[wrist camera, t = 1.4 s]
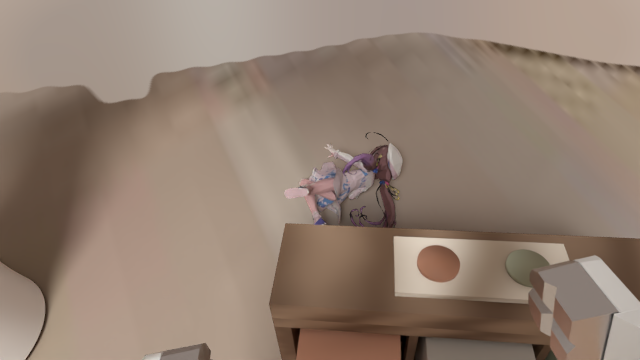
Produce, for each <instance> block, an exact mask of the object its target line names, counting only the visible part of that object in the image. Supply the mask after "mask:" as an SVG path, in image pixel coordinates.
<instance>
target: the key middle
mask: <svg viewBox="0 0 640 360" xmlns="http://www.w3.org/2000/svg"><path fill="white" fill-rule="evenodd" d="M415 360H536V359H535V355H534V351H533V347H532V344H525V343H510V342H496V341H481V340H466V339H451V338H437V337H422V336H419V337H418V342H417V347H416V352H415Z"/></svg>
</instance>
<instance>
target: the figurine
mask: <svg viewBox="0 0 640 360" xmlns="http://www.w3.org/2000/svg"><path fill="white" fill-rule="evenodd" d="M369 133H370V132H369ZM374 133H375V132H374ZM367 134H368V133H367ZM367 134H366V135H367ZM377 134H379V133H377ZM379 135H381V134H379ZM381 136H382V135H381ZM365 137H366V136H365ZM383 137H384V136H383ZM366 138H367V137H366ZM384 138H385V137H384ZM367 139H368V138H367ZM385 139H386V138H385ZM386 140H387V139H386ZM387 141H388V140H387ZM331 145H332V144H330V146H331ZM327 146H328V147H329V148H327V147H324V148H325V149H328V150H329V151H330V152H331V155H330V156H328V158H329V157H332V156H334V158H335V159H337V158H339V159H341V160H343V161H345V162H347V165H346V166H345V168H344V170H343V173H342V171H341V170H340V169H339V168H336V166H335V164H334V163H333V162H328V163H323V166H322V169H321V171H318V170H317V169H316V168H315V167H314V168H313V172H312V175H311V177H310V178H309V179H305V178H302V179H301V181H300V182H299V185H300V187H299V188H290V189H286V191H285V197H287V198H296V197H302V196H304V197H305V199H306V201H307V204H308V206H309V208H310V210H311V212H312V216H313V220H314V225H326V224H327V223H326V222H325V221H324V220H323V219H322V218H321V215H320V214H319V213H318V212H322V211H323V210H324V209H326V208H327V209H329V210H332V211H334V212H335V213H336V214H337V216H338V225H339V224H340V218H341V207H340V203H341V202H343V201H344V200H345V199H346V197H347V196H348V195H349V196H348V197H349V199H350V200H351V199H355V198H357V199H358V196H359V194H360V193H362V192H365V191H366V190H367V189H368V188H369V187H371V186H372V185H373V183H374V179H378V178H379V180H381V181H380V182H379V183H380V186H381V187H380V186H379V187H378V189H379V188H380V192H381V196H382V200H383V203H384V207H385V213H384V212H383V213H384V217H383V218H382V220H381V221H380V222H370V221H367V220H366V219H367V216H366V215H362V208H364V207H365V206H363V207H362V208H361V216H360V217H363V216H366V219H364V220H365V221H367V222H368V223H370V224H372V225H380V224H381V223H382V222H383V221H384V219H385V217H386V219H385V222H384V225H383V228H392V226H393V224H394V223H395V217H396V216H395V206H394V203H393V200H392V197H393V196H396V195H397V197H398V193H399V191H398V190H397V189H396V188H394V187H392V188H394V189H396V190H397V191H398V193H397V194H396V192H395V191H394V190H393V189H392V188H391V186H390V185H389V182H390V180H391V179H392V180H394V179H396V178H397V177H398V175H399V174H400V172H401V167H402V162H403V160H402V156H401V154H400V152H399V151H398V149H397V148H396V147H395V146H393V145H392V144H391V143H390V144H389V146H388V145H383V146H378V147H376V149H374V150H373V151H372V152H371V153H370V154H364V153H363V154H360V155H357V156H355V157H354V158H353V157H352V156H351V155H349V154H346V153H343V152H340V150H339V149H338V150H337V151H336V150H334V149H333V145H332V146H331V147H330V146H329V145H328V144H327ZM369 152H370V151H369ZM352 165H354V166H356V167H357V168H360V169H357V168H356V169H357V170H352V171H350V172H348V171H349V169H350V167H351V166H352ZM346 170H347V172H346V173H345V171H346ZM379 180H378V181H379ZM388 186H389V187H390V188H391V189H392V190H393V191H394V192H395V194H396V195H393V194H392V193H391V192H390V190H389V188H388ZM378 189H377V191H378ZM377 191H376V192H377ZM390 193H391V194H392V195H393V196H392V195H391V194H390ZM376 196H377V193H376ZM391 196H392V197H391ZM398 198H399V197H398ZM394 199H395V198H394ZM399 199H400V198H399ZM399 199H396V200H399ZM377 201H378V198H377ZM378 204H379V202H378ZM379 206H380V205H379ZM355 210H357V209H354V210H352V211H351V212H353V211H355ZM357 211H358V210H357ZM351 212H350V217H351V221H352V223H353V224H354V225H355V226H357V227H360V226H358V225H356V223H355V222H354V221H353V217H352V214H351ZM358 212H359V211H358ZM355 216H357V215H355ZM358 216H359V214H358ZM358 216H357V217H358ZM363 218H364V217H363ZM359 224H360V225H361V226H362V227H364V226H363V224H362V223H361V222H360V218H359ZM395 225H396V223H395Z"/></svg>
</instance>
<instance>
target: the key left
mask: <svg viewBox="0 0 640 360" xmlns="http://www.w3.org/2000/svg"><path fill="white" fill-rule="evenodd" d="M296 360H401V343H400V335H392V334H377V333H363V332H348V331H333V330H318V329H304V328H300V335H299V342H298V349H297V356H296Z"/></svg>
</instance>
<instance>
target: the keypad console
mask: <svg viewBox="0 0 640 360" xmlns="http://www.w3.org/2000/svg"><path fill="white" fill-rule="evenodd" d="M594 255H596V256H598V257H599V258H601V259H602V260H603V262H604V263H605V264H606V265H607V266H608V267H609V268H610V269H611V270H612V272H613V273H614V274H615V275H616V276H617V277H618V278H619V279H620V280H621V282H622V283H623V284H624V285H625V286H626V287H627V288H628V289H629V291H630V292H631V293H632V294H633V295H634V296H635V297H636V298H637V299H638V301H639V302H640V239H635V238H612V237H589V236H565V235H542V234H519V233H496V232H473V231H450V230H427V229H404V228H381V227H357V226H334V225H311V224H288V223H286V224H285V228H284V233H283V238H282V243H281V248H280V253H279V258H278V263H277V268H276V273H275V278H274V283H273V288H272V293H271V298H270V303H269V306H270V310H271V314H272V318H273V323H274V327H275V331H276V335H277V340H278V344H279V348H280V352H281V357H282V360H296V356H297V349H298V342H299V335H300V328H304V329H318V330H333V331H348V332H363V333H377V334H392V335H400V343H401V360H415V352H416V347H417V342H418V337H419V336H422V337H437V338H451V339H466V340H481V341H496V342H510V343H525V344H532V347H533V351H534V355H535V359H536V360H545V358H546V357H547V355H548V354H549V352H550V351H551V348H550V338H551V337H550V336H548V335H546V334H545V333H543V332H541V331H540V330H539V328H538V327H537V325H536V323H535V321H534V319H533V317H532V315H531V311H530V307H529V303H528V293H529V292H530V291H531V289H532V288H533V286H532V284H531V282H530V281H529V277H530V272H531V270H532V269H536V268H540V267H544V266H549V265H553V264H557V263H561V262H566V261H570V260H572V261H573V260H576V259H581V258H585V257H590V256H594Z"/></svg>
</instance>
